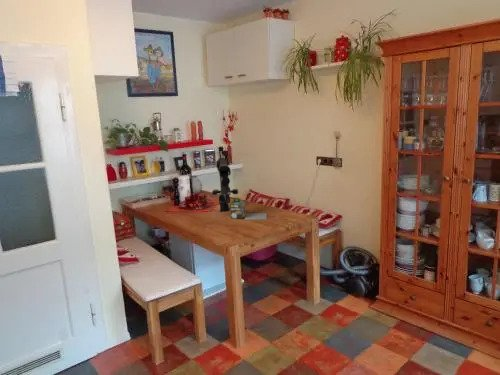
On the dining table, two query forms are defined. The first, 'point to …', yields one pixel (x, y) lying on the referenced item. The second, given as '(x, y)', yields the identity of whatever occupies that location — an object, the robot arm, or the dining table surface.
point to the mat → (256, 216)
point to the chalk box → (237, 209)
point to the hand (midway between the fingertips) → (225, 203)
